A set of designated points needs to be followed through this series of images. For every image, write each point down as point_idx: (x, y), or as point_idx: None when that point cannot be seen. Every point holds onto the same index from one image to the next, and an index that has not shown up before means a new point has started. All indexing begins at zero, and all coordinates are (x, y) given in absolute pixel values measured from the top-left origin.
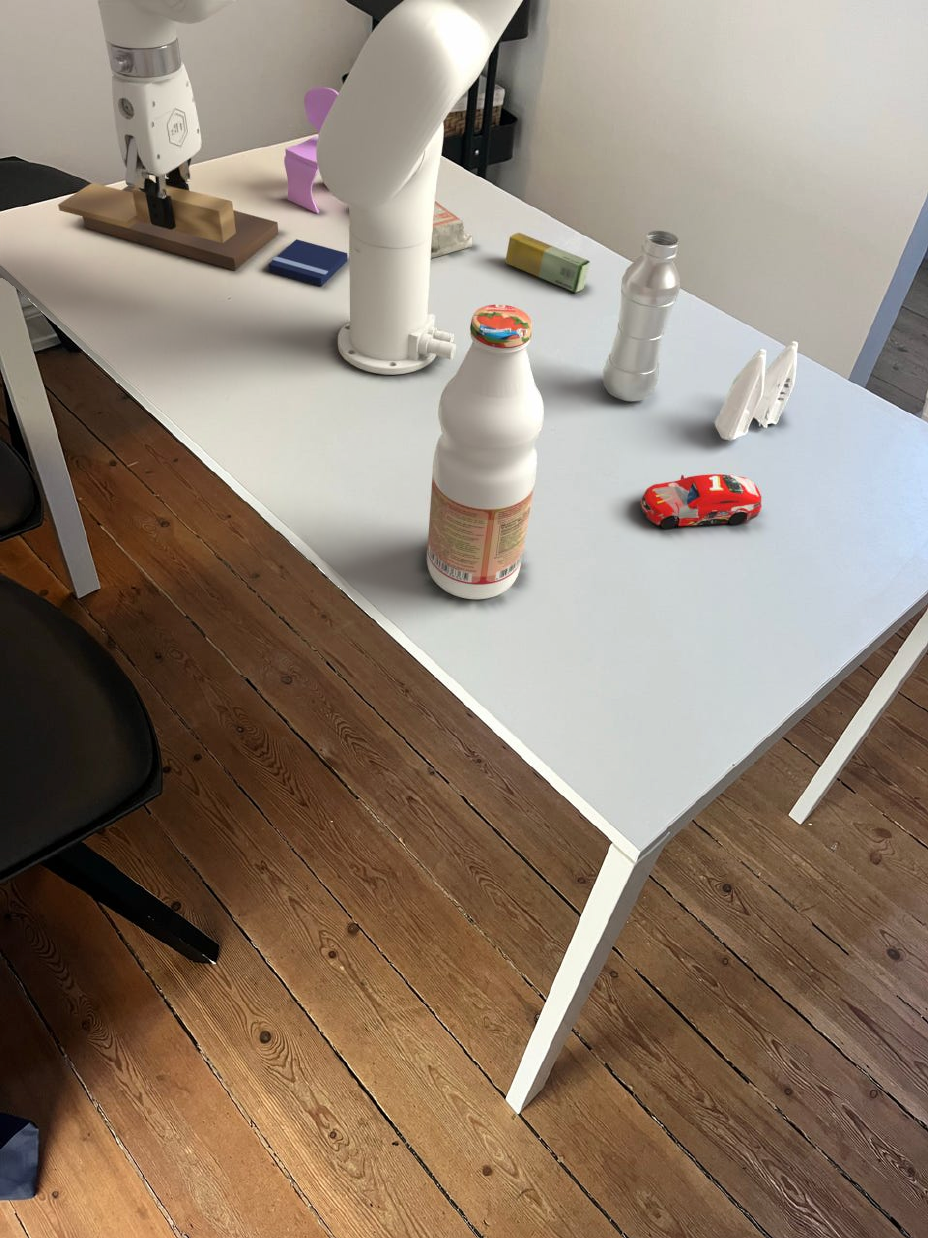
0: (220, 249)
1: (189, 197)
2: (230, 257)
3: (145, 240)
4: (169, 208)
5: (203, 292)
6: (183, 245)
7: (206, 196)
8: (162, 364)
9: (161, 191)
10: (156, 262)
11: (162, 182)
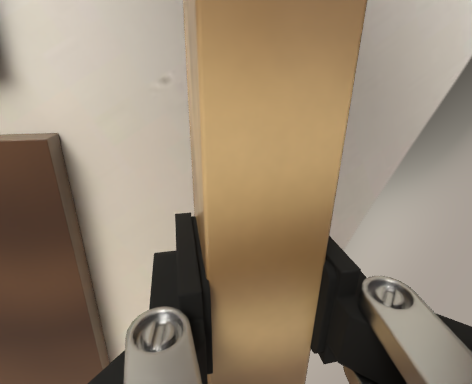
0: (35, 188)
1: (279, 210)
2: (48, 148)
3: (96, 318)
4: (331, 242)
5: (174, 141)
6: (77, 257)
7: (227, 140)
8: (405, 70)
9: (418, 302)
10: (135, 266)
11: (430, 340)
